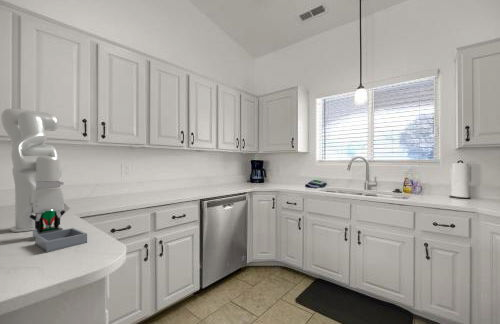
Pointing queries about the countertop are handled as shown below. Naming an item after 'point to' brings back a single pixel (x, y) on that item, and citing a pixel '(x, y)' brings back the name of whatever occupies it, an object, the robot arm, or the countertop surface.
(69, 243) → the tray
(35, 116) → the robot arm
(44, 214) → the soda can
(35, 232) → the pin socket
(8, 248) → the countertop surface
